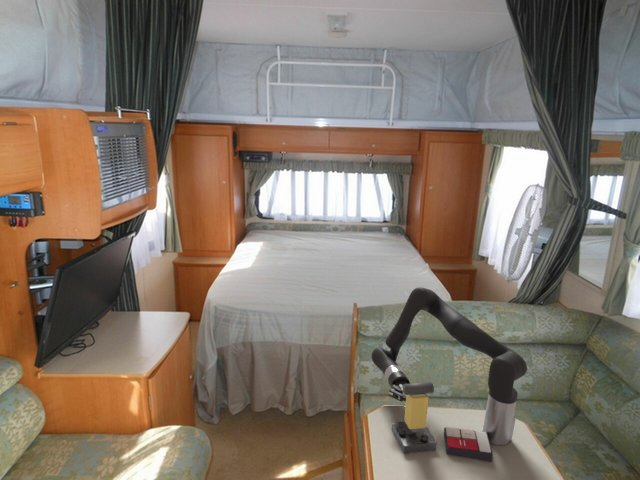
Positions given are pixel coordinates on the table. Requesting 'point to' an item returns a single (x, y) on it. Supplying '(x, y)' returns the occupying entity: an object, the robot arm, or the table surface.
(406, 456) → the table surface
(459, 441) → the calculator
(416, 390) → the yellow toy mallet
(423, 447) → the base
